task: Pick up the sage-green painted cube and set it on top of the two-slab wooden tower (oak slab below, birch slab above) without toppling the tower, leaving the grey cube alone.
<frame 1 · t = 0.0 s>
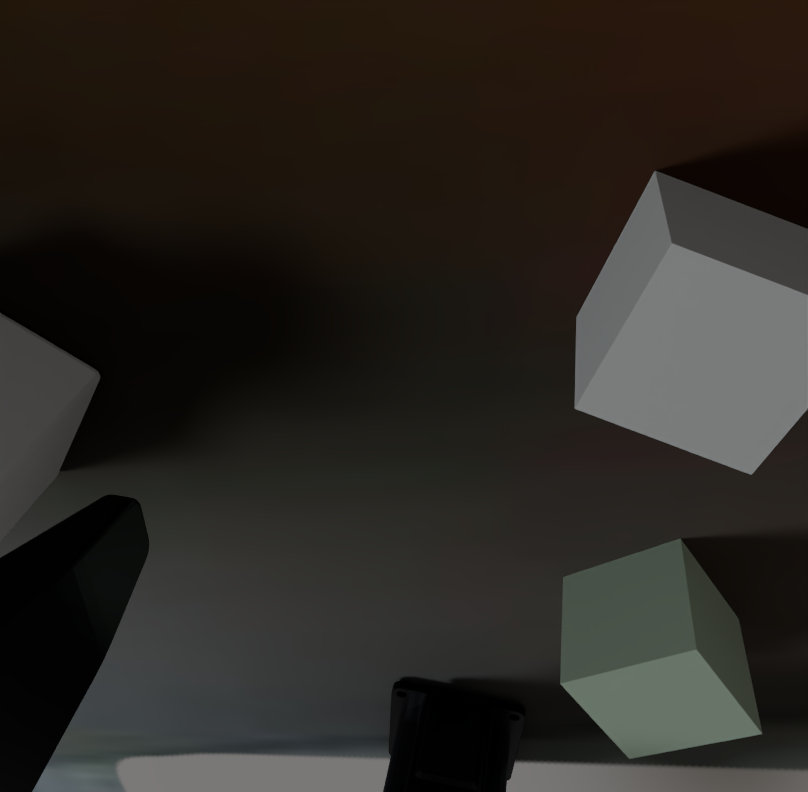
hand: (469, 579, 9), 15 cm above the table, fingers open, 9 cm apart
medicine bottle: (4, 377, 30), on the table
sage cube: (649, 596, 30), on the table
grey cube: (691, 277, 22), on the table
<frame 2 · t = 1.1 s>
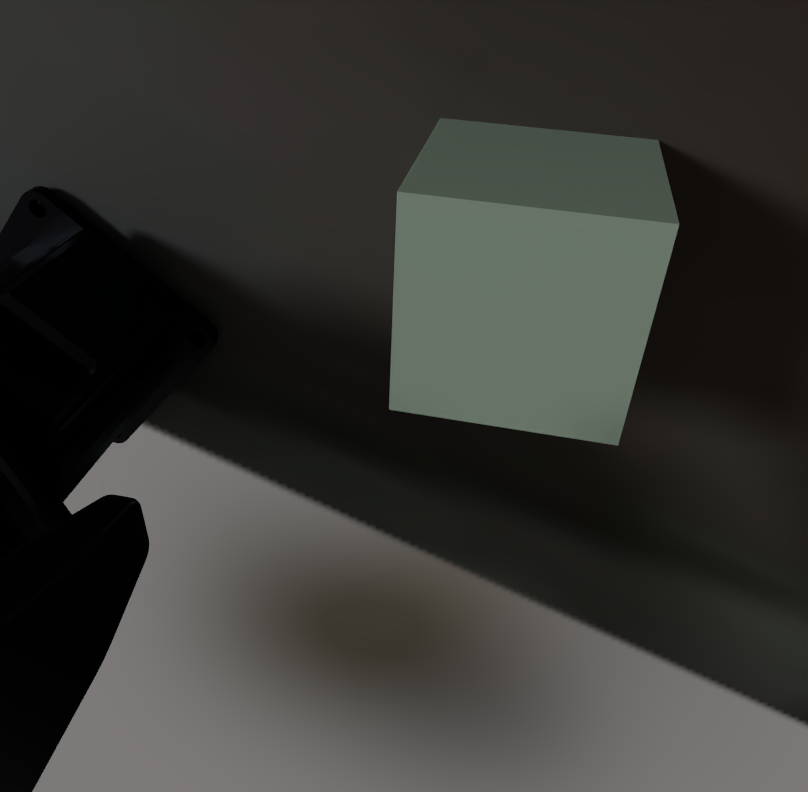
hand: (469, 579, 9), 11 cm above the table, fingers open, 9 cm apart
sage cube: (531, 229, 19), on the table
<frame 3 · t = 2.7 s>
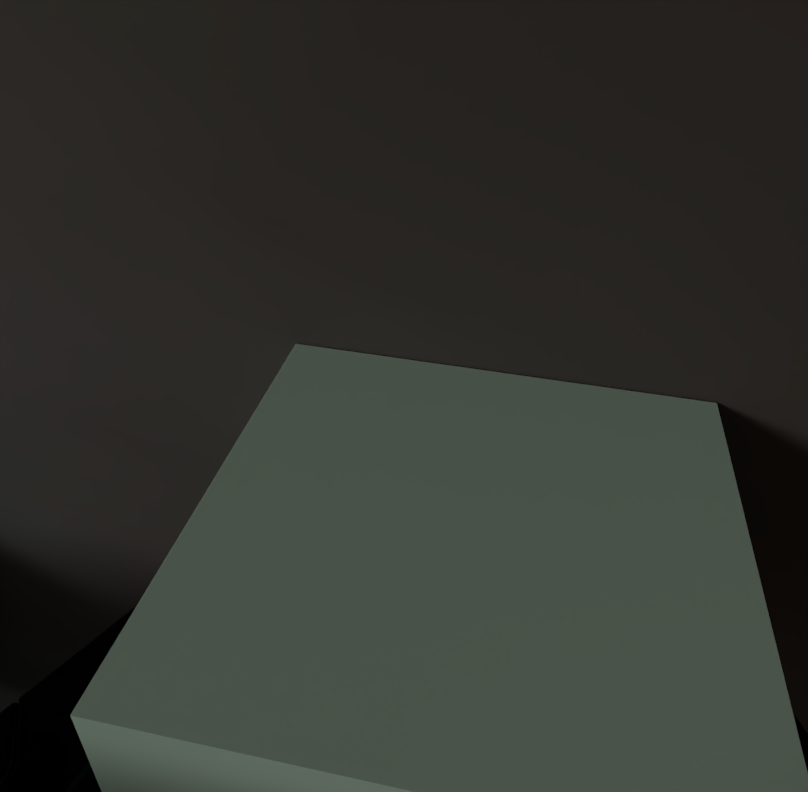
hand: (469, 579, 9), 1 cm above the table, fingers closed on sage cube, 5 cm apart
sage cube: (477, 521, 10), on the table, touching gripper
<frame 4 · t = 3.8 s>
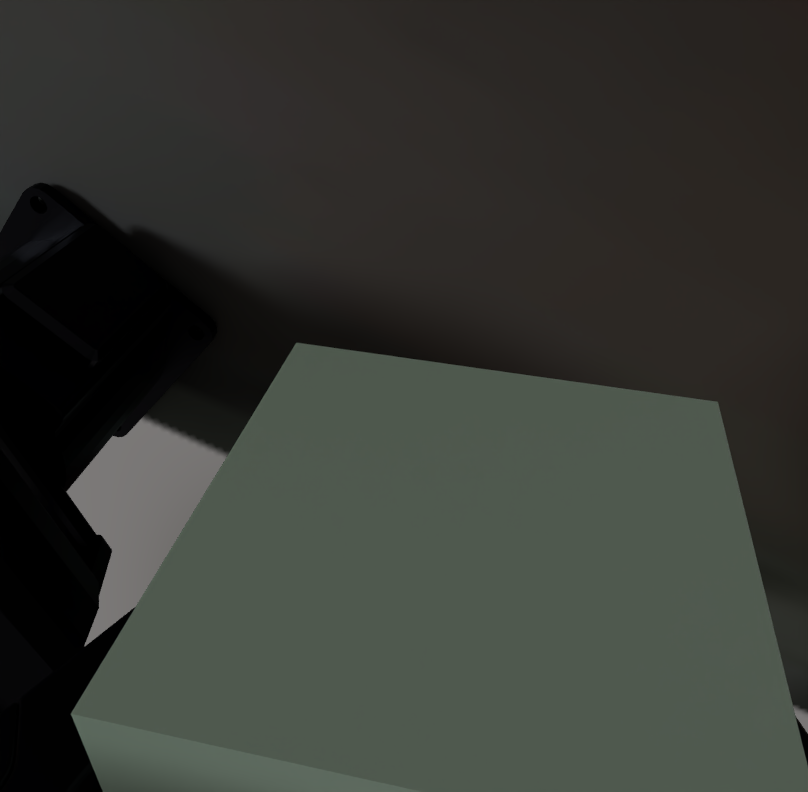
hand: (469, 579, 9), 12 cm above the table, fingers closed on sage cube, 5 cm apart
sage cube: (478, 520, 10), point 11 cm above the table, touching gripper
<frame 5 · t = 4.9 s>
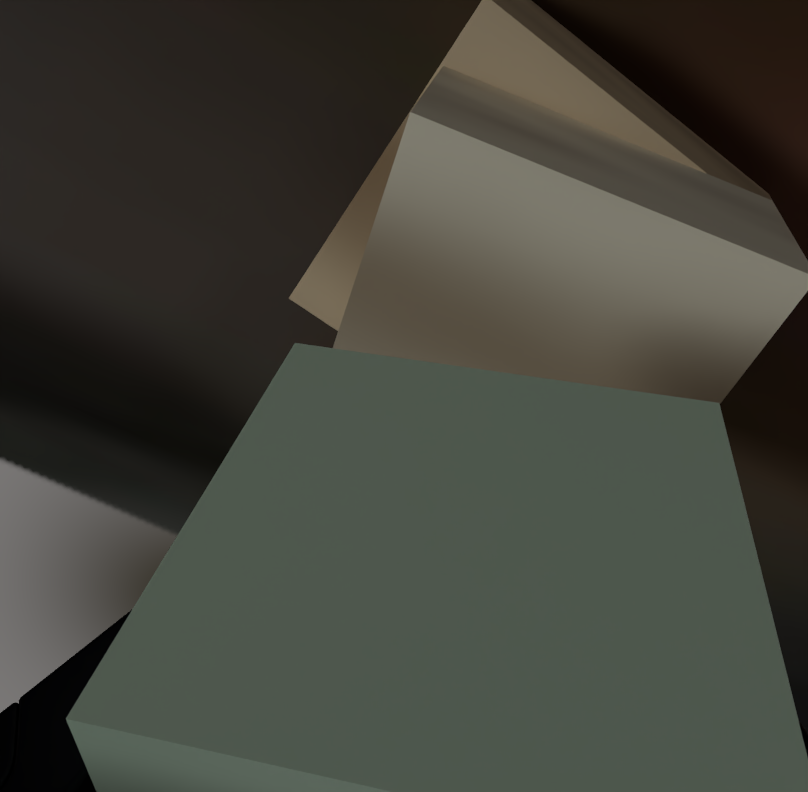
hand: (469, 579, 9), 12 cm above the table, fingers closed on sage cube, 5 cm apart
oak slab: (529, 216, 19), on the table, touching birch slab
birch slab: (534, 282, 17), point 3 cm above the table, touching oak slab
sage cube: (478, 522, 10), point 11 cm above the table, touching gripper
when the fingers open (9 cm above the table, at t = 5.9 s): sage cube drops 1 cm, resting on birch slab.
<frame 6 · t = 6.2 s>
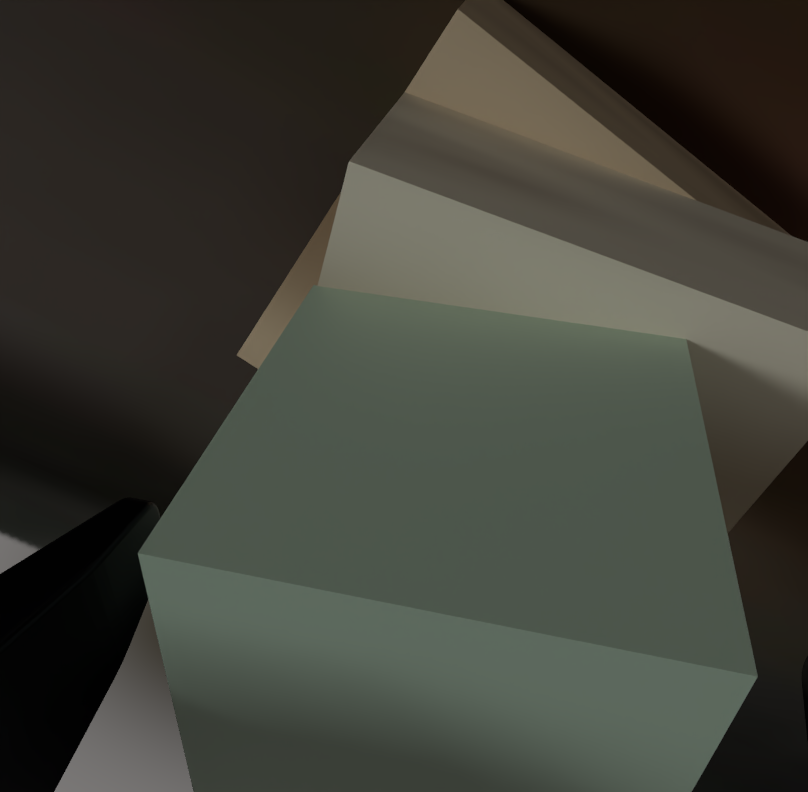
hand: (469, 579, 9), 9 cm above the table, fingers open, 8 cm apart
oak slab: (517, 258, 17), on the table, touching birch slab
birch slab: (525, 339, 14), point 3 cm above the table, touching oak slab, sage cube
sage cube: (473, 453, 11), point 7 cm above the table, touching birch slab
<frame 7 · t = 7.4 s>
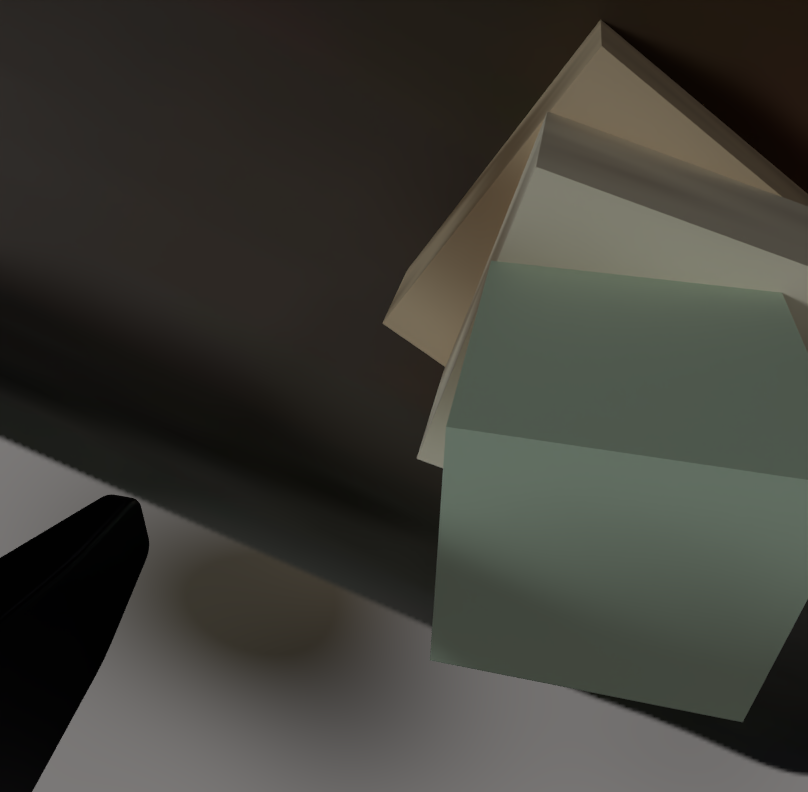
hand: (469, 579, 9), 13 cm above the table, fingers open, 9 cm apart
oak slab: (610, 245, 20), on the table, touching birch slab
birch slab: (629, 310, 17), point 3 cm above the table, touching oak slab, sage cube
sage cube: (606, 391, 15), point 7 cm above the table, touching birch slab
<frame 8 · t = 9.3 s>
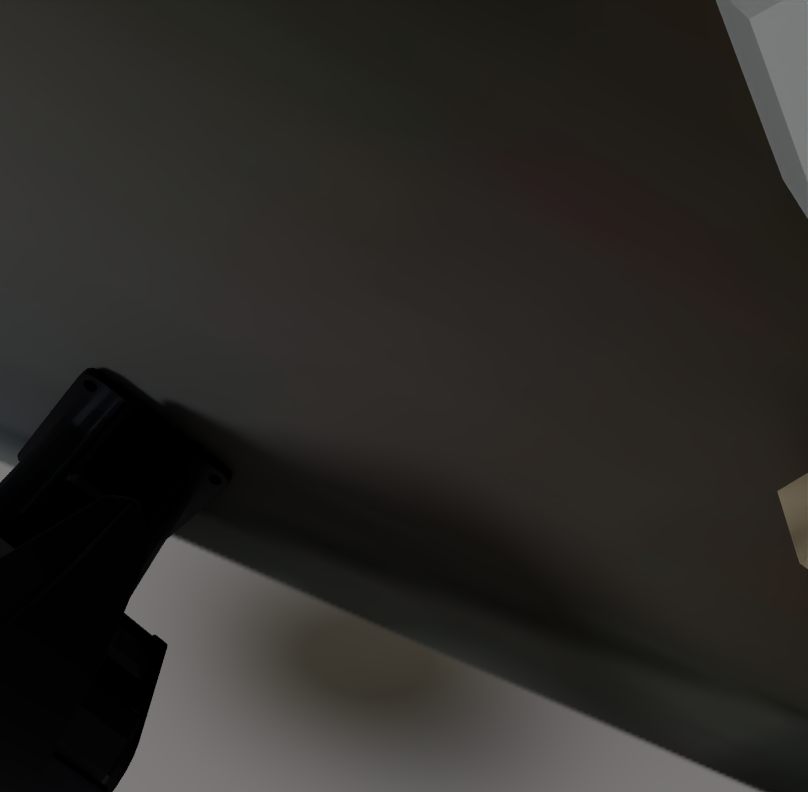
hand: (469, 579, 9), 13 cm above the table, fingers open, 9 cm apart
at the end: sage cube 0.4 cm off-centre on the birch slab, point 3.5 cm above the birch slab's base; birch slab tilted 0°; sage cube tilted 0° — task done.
